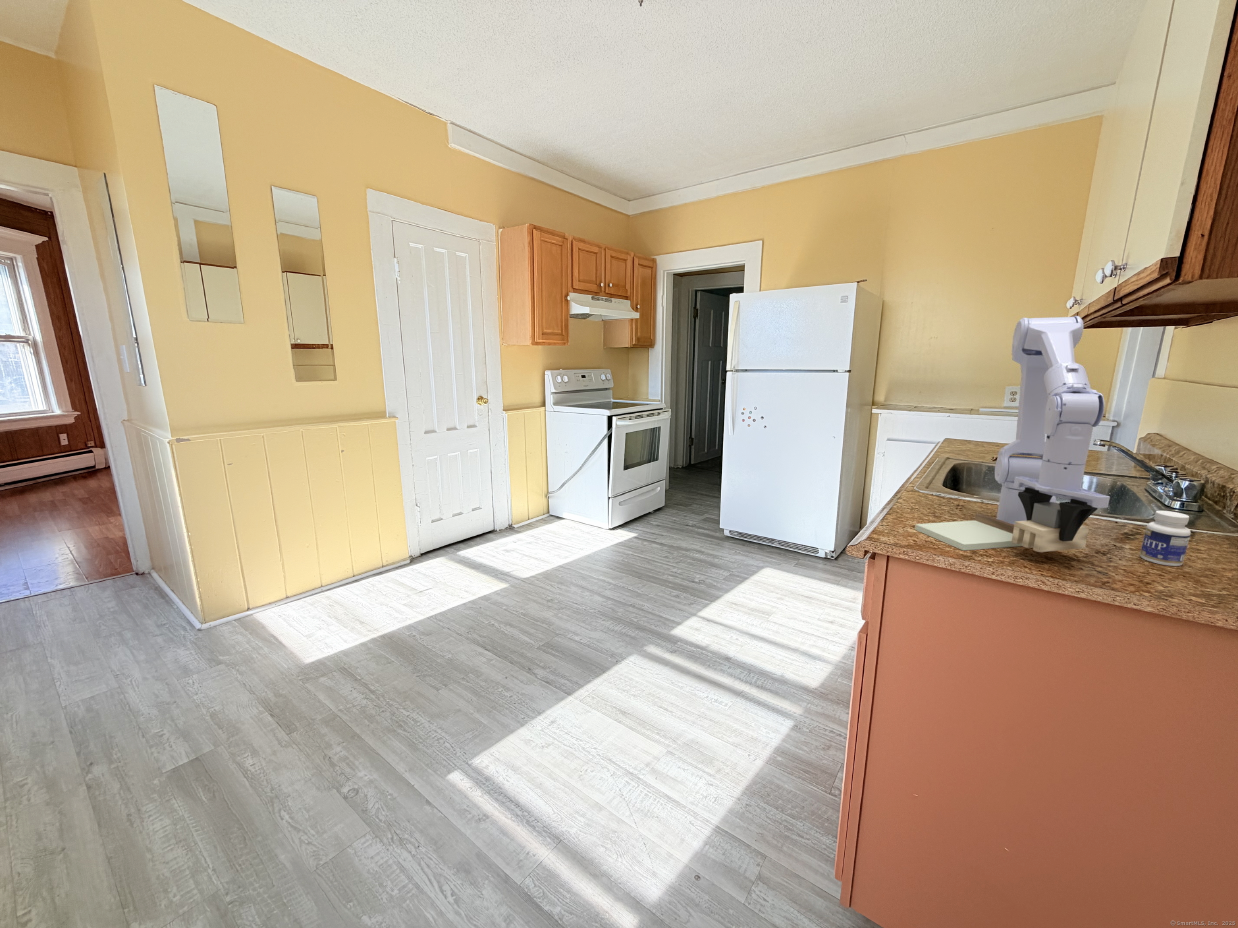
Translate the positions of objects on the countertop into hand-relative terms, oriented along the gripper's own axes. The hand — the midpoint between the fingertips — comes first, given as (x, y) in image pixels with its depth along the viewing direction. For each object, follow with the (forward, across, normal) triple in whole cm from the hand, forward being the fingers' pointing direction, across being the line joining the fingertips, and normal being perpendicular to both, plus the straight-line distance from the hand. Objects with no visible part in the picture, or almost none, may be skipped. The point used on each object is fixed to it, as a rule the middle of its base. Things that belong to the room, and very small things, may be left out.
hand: (1049, 535), depth 89 cm
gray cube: (-2, 0, 0) cm, 2 cm away
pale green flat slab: (+4, -12, -4) cm, 13 cm away
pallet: (+2, 0, 0) cm, 2 cm away
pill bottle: (+4, +5, +19) cm, 20 cm away
